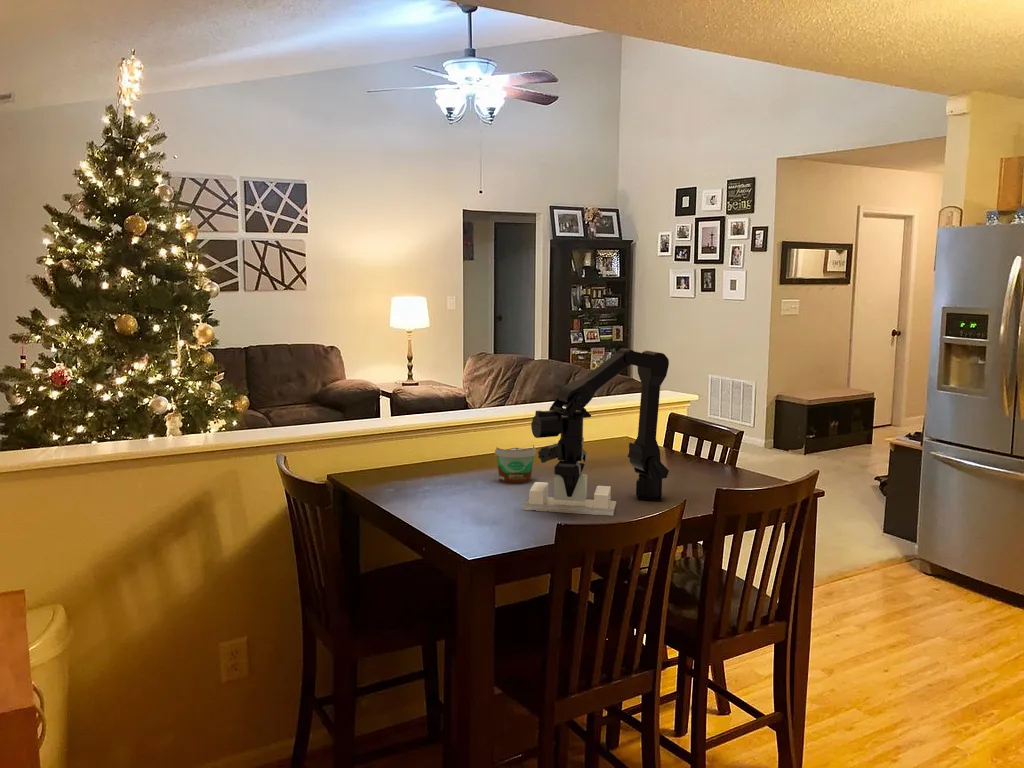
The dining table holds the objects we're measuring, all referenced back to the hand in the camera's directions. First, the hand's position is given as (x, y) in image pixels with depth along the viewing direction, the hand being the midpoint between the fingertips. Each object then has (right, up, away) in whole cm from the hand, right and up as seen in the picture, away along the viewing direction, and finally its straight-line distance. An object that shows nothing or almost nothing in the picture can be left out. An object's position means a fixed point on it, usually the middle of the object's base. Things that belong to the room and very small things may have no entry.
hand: (570, 494), depth 215 cm
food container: (-13, 0, +25) cm, 29 cm away
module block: (0, -1, 0) cm, 1 cm away
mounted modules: (0, -3, 0) cm, 4 cm away
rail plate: (0, -3, 0) cm, 4 cm away
